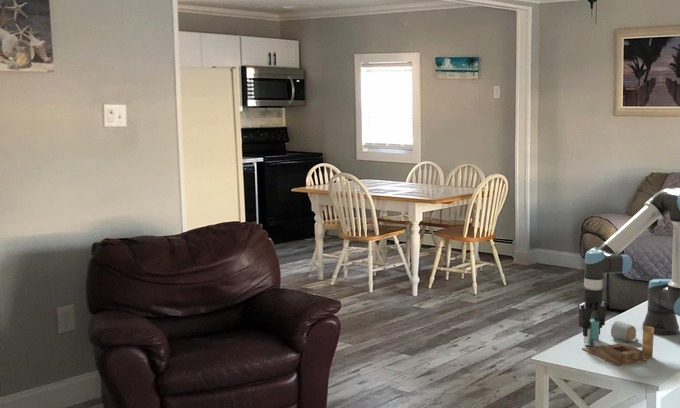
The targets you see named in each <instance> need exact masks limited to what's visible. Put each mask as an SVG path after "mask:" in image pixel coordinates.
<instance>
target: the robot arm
mask: <svg viewBox="0 0 680 408" xmlns="http://www.w3.org/2000/svg"><path fill="white" fill-rule="evenodd" d="M667 215H669V222H670V223H671V224H672V225H673V226H672V227H673V231H672V253H671V254H672V255H671V256H672V259H671V261H672V262H671V278H670V279H669V278H654V279H651V280H649V282H648V288H647V290H648V294H647V295H648V296H647V311H646V314H645V317H644V321H643V322H642V325H641V326H642V328H641V329H642V330H643V327H645V326H649V327H653V328H654V335H661V336H662V335H664V336H669V335H670V336H671V335H672V336H673V335H677V334H679V333H680V326H679V323H678V319H677V316H678V317H680V187H677V186H668V187H665V188H663V189H661V190H659V191H658V192H656V193H655V194H653V195H652V196H650V198H649V199H648V200H646V201H645V202H644V206H643V207H642V208H641V209H640V210H639V211H637V213H635V214H634V215H633V216H632V217H631V218H630V219H629V220H627V221H626V223H624V224H623V225H622V226H621V227H620V228H619V229H618V230H617V231H615V232H614V233H613V234H612V235H611V236H610V237H609V238H608V239H607V240H605V241H604V242H603V243H602V244H601V245H600V246H598V247H592V248H590V249H589V250H587V251H586V252H585V256H584V280H583V287H584V288H583V298H584V299H583V301H582V303H578V304H577V307H578V326H579V328H582V336H583V344H585V345H587V344H588V346H590V345H589V342H590V329H588V328H589V323H590V319H592V318H591V317H592V314H593V319H594V320H597V321H599V336H600V335H601V329H603V326H605V325H606V312H607V307H608V302H607V301H604V300H603V299H602V298H603V296H604V295H603V293H604V290H603V288H604V274H605V275H607V274H625V273H629V272H630V271H631V270H632V268H633V267H632V266H633V262H632V258H631V257H630V255H628V254H622V253H621V252H623V250H625V249H626V248H627V247H628V246H629V245H630V244H631V243H633V242H634V240H636V239H637V238H638V237H639V236H640V235H641V234H642V233H644V232H645V231H646V230H647V229H648V228H649V227H650V226H651V225H652V224H654V223H655V222H656V221H657V220H662V219H663V218H664V217H665V216H667ZM620 253H621V254H620ZM598 340H600V338H599V339H598Z"/></svg>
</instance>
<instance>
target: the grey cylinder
mask: <svg viewBox="0 0 680 408" xmlns="http://www.w3.org/2000/svg"><path fill="white" fill-rule="evenodd" d="M610 335H611V337H612V338H613V339H614V340H615V339H616V340H619V341H623V342H626V343H628V342H629V343H630V342H633V341H634V340H635V339H636V337H637V329H636V327H635V325H632V324H628V323H626V322H623V321H619V320H616V321H614V322H613V324H612V325H611V329H610Z"/></svg>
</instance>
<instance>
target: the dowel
mask: <svg viewBox="0 0 680 408" xmlns="http://www.w3.org/2000/svg"><path fill="white" fill-rule="evenodd" d="M654 335H655V334H654V328H653V327H649V326H645V327H643V329H642V342H641V343H642V344H641V345H642V346H641V350H642V351H645V358H644V359H653V355H654V354H653V352H654V351H653V350H654V337H655V336H654Z"/></svg>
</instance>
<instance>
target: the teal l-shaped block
mask: <svg viewBox="0 0 680 408" xmlns="http://www.w3.org/2000/svg"><path fill="white" fill-rule="evenodd" d="M588 329H590V342H589V345H588V344H586V345H588V346H589V347H597V348H600V346H606V345H611V344H609V343H607V342H605V341H602V340H601V339H600V335H599V321H597V320H594V318H590V323H589V328H588ZM598 339H599V340H598ZM614 349H615V350H618V351H619V350H620V349H619V348H614Z"/></svg>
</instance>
